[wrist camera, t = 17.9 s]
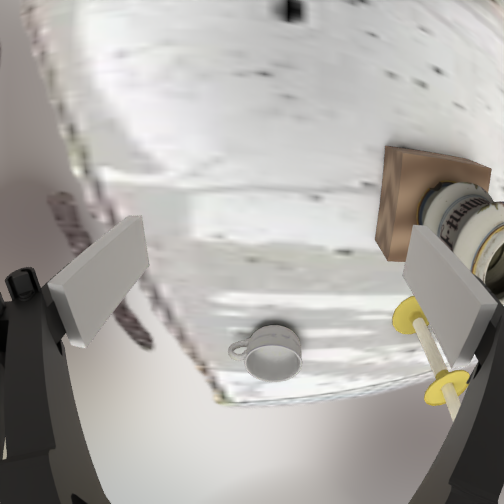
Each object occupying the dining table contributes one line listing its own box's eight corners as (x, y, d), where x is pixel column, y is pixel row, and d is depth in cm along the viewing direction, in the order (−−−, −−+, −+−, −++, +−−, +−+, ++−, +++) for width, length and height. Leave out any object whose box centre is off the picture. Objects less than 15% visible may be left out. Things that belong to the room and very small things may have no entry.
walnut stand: (385, 145, 43) (402, 152, 36) (466, 158, 41) (491, 168, 34) (374, 239, 50) (387, 261, 43) (451, 243, 48) (471, 264, 41)
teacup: (310, 326, 59) (312, 355, 52) (289, 362, 64) (288, 389, 57) (243, 305, 58) (236, 332, 51) (227, 343, 63) (220, 370, 56)
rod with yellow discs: (443, 311, 54) (515, 462, 21) (408, 340, 58) (457, 496, 25) (420, 285, 52) (503, 453, 19) (382, 318, 56) (432, 493, 23)
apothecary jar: (456, 156, 34) (538, 192, 18) (484, 221, 38) (553, 278, 21) (394, 203, 39) (453, 264, 23) (429, 264, 42) (481, 339, 26)
